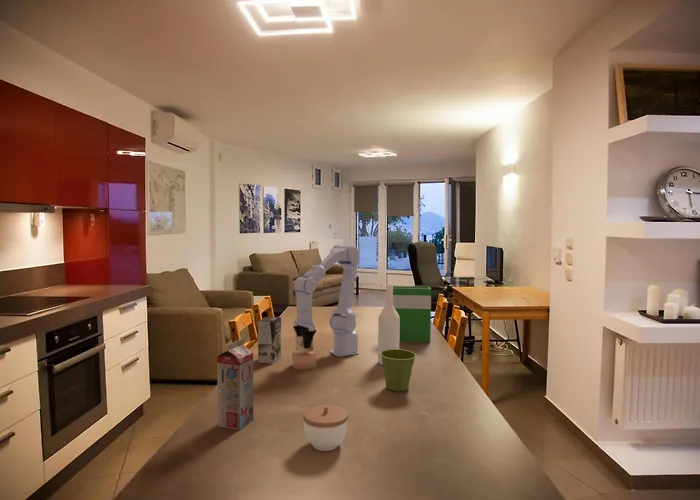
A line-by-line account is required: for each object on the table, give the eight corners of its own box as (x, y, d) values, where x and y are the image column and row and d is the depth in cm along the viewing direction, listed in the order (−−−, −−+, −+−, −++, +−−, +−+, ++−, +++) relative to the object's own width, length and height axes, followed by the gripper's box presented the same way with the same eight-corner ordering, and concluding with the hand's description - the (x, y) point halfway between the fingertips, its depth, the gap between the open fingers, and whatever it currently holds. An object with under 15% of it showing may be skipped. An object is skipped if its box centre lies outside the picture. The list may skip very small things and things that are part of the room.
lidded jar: (303, 435, 117) (303, 398, 116) (346, 434, 118) (346, 397, 117) (302, 456, 106) (302, 416, 106) (349, 455, 107) (349, 415, 107)
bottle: (402, 361, 179) (403, 284, 178) (395, 367, 172) (396, 286, 170) (382, 358, 183) (383, 282, 181) (374, 364, 175) (375, 285, 174)
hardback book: (390, 341, 210) (391, 288, 208) (390, 337, 217) (391, 285, 216) (430, 342, 208) (431, 289, 207) (429, 338, 215) (429, 286, 214)
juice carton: (253, 419, 126) (252, 339, 125) (239, 430, 120) (239, 345, 118) (232, 416, 128) (231, 337, 127) (218, 426, 122) (217, 343, 121)
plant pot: (392, 397, 143) (392, 361, 142) (372, 385, 153) (372, 351, 152) (423, 391, 148) (424, 356, 147) (402, 379, 159) (403, 347, 158)
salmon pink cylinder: (310, 361, 179) (310, 348, 179) (320, 367, 171) (320, 354, 171) (288, 364, 175) (288, 351, 175) (297, 371, 167) (297, 357, 167)
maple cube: (308, 347, 176) (308, 334, 176) (313, 351, 172) (313, 337, 171) (295, 349, 174) (295, 336, 173) (300, 352, 169) (300, 339, 169)
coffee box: (273, 364, 175) (273, 321, 174) (257, 362, 176) (257, 320, 175) (281, 357, 184) (281, 316, 183) (266, 356, 185) (266, 316, 184)
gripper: (287, 307, 176) (287, 342, 177) (301, 314, 163) (301, 352, 164) (304, 306, 180) (304, 340, 180) (320, 312, 167) (320, 350, 168)
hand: (304, 346), depth 173 cm, fingers closed on maple cube, 5 cm apart
